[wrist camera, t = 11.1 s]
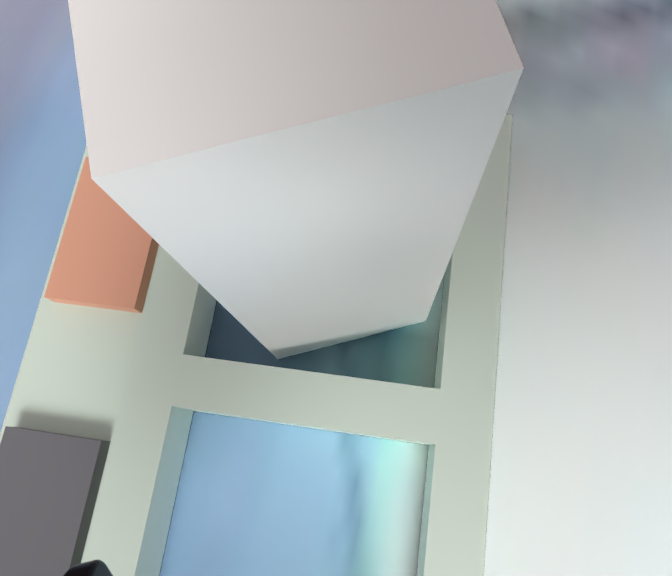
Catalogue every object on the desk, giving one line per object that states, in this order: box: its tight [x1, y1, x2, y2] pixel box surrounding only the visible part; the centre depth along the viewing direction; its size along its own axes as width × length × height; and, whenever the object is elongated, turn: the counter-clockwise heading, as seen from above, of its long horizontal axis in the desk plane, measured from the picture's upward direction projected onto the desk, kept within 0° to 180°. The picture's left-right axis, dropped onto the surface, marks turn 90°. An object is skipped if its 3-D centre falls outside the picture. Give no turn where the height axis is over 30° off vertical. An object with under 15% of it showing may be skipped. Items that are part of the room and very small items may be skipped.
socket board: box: [0, 114, 513, 576], centre depth 17 cm, size 20×14×2 cm
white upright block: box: [68, 0, 524, 359], centre depth 13 cm, size 5×5×12 cm
